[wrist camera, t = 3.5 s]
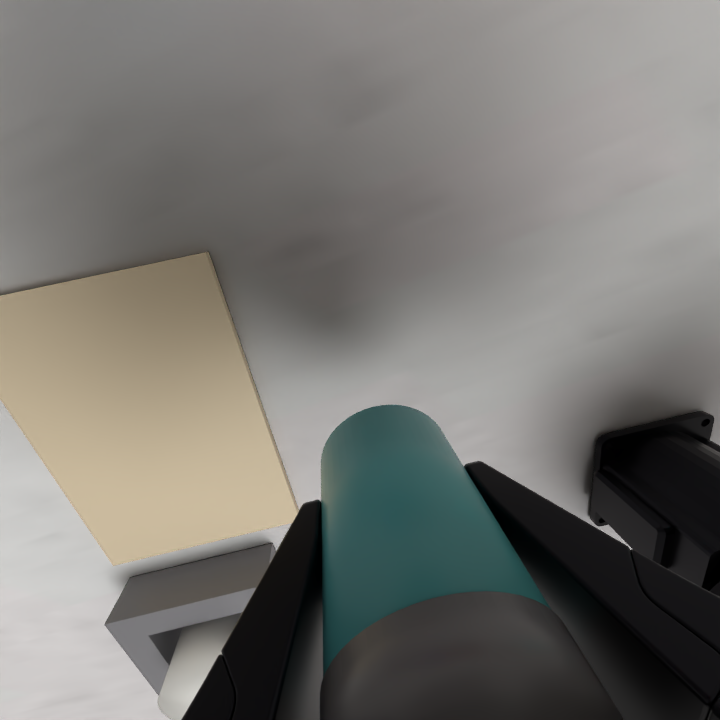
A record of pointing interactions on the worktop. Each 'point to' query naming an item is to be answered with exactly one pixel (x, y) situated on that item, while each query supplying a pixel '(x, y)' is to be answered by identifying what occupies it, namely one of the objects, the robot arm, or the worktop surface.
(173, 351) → the paper pad
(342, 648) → the teal grey-topped cylinder
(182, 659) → the button
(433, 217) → the worktop surface
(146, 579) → the button housing
